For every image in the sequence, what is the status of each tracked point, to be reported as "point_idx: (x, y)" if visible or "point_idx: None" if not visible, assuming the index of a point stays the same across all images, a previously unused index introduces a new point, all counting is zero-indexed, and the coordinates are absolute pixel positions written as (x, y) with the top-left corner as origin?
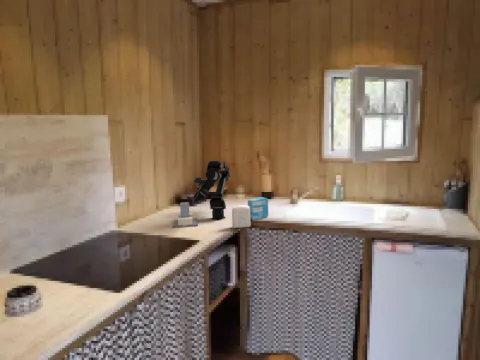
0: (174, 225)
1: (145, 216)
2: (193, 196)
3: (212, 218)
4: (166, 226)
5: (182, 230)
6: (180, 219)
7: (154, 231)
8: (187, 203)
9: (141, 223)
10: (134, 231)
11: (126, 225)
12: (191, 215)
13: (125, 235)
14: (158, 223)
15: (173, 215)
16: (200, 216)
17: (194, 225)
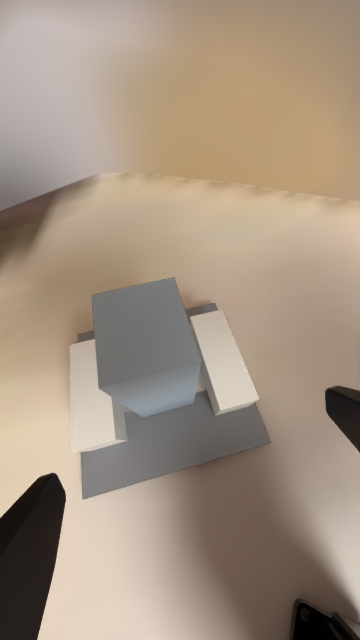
0: (90, 337)
1: (272, 192)
2: (357, 394)
3: (295, 622)
4: None
5: (10, 405)
6: (70, 360)
7: (41, 277)
8: (128, 362)
9: (170, 208)
10: (64, 219)
11: (147, 181)
12: (217, 407)
13: (21, 211)
14: (168, 257)
15: (320, 277)
16: (354, 449)
17: (84, 468)
